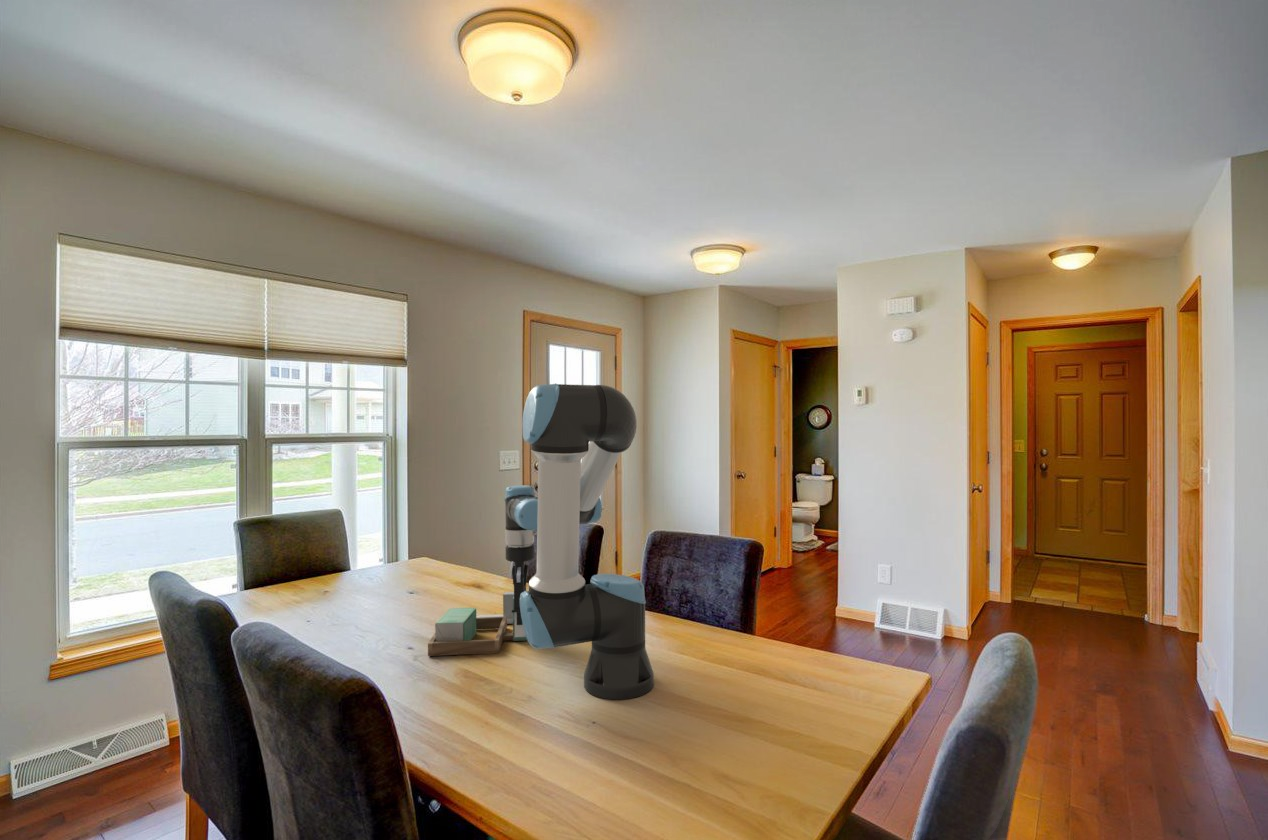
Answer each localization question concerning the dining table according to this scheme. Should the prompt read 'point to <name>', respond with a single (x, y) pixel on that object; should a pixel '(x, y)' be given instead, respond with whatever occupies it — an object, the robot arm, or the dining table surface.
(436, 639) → the box
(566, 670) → the dining table surface
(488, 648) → the walnut frame
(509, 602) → the grey l-shaped bracket
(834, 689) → the dining table surface
